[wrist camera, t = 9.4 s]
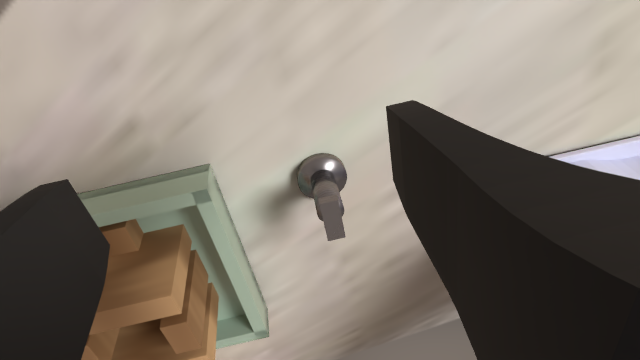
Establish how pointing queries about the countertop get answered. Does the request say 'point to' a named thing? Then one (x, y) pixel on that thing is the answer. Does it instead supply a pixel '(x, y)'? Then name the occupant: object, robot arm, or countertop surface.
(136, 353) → the wooden blocks
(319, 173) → the lever
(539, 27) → the countertop surface
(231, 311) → the tray
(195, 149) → the countertop surface
